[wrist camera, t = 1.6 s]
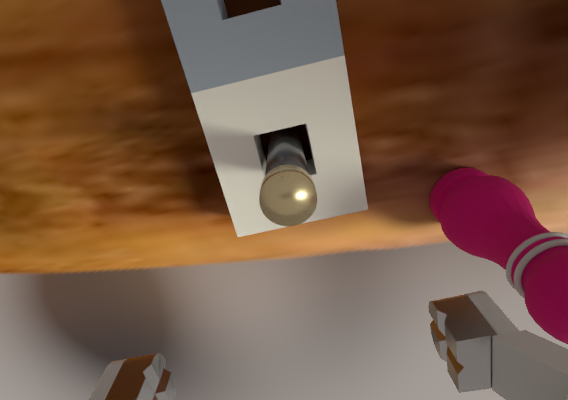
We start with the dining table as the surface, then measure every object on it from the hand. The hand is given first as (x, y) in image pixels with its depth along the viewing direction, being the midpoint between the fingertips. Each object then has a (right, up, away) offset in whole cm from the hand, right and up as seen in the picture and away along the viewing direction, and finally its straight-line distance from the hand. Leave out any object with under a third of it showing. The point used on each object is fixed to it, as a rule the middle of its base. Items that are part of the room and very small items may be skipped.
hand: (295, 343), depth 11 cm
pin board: (-2, +16, +20) cm, 26 cm away
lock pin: (0, +10, +23) cm, 25 cm away
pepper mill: (+18, +5, +26) cm, 31 cm away
